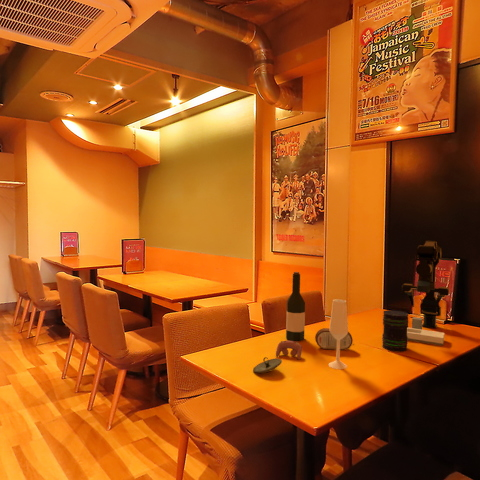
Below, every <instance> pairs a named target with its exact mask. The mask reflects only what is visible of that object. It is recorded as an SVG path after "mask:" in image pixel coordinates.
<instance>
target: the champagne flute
mask: <svg viewBox="0 0 480 480" xmlns="http://www.w3.org/2000/svg"><path fill="white" fill-rule="evenodd" d="M347 310H348V308H347V300H345V299H341V298H340V299H332V304H331V313H330V321H329V322H330V323H329V331H330V333H331V335H332V336H333V337H334V338H335V339H337V350H335V351H336V353H335V354H336V355H335V356H336V358H335V360H334V361H331V362H329V363H328V366H329V368H332V369H335V370H336V369H337V370H344V369H347V368H348V365H347V364H345V363H344V362H343V361H341V360H340V359H341V358H340V357H341V356H340V355H341V350H340V340H341V339H342V338H344V337H345V336H346V335H347V333H348V332H349V326H348V325H349V324H348V323H349V322H348V311H347Z"/></svg>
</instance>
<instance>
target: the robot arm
mask: <svg viewBox="0 0 480 480" xmlns="http://www.w3.org/2000/svg"><path fill="white" fill-rule="evenodd" d="M437 243H438V242H437V241H435V240H426V241H424V244H423V245H421V244H420V245H418V247H416V252H415V253H416V254H415V261H416V262H418V264H417V265H416V267H415V272H416V273H417V274H418V276H417V277H418V278H417V279H418V280H417V282H416V286H415V285H413V283H403V284H402V285H401V292H404V293H405V294H407V297H408V298H409V300H410V304H411V306H412V308H414V307H415V300H414V299H415V298H414V291H417V292H418V293H425V295H424V297H423V298H422V300H421V302H420V305H419V307H420V315H423V321H422V328H429V329H437V327H438V324H437V317H441V312H442V308H441V306H440V302H441V300H442V299H443V298H445V297H447V296H449V295H450V288H449V287H447V286H438V287H436V279H437V278H436V276H437V274H436V272H437V271H436V270H437V266H438V265H439V263H440V262H441V261H440V260H442V247H440V245H438V244H437ZM436 293H437V295H436Z"/></svg>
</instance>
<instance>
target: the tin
mask: <svg viewBox="0 0 480 480" xmlns="http://www.w3.org/2000/svg"><path fill="white" fill-rule="evenodd" d="M329 328H330V327H329ZM329 328H327V327H325V328H320V329H319V330H317V332H316V333H315V337H314V340H315V342H316V345H317V346H318V347H319V348H320V349H323V350H332V351H336V350H337V339H335V338H334V337H333V336H332V335H331V333H330V331H329ZM353 341H354V340H353V336H352V333H350V331H348V333H347V335H346V336H345V337H344V338H342V339H341V340H340V351H346V350H349V349H350V348H351V347H352V345H353Z"/></svg>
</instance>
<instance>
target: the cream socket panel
mask: <svg viewBox="0 0 480 480" xmlns="http://www.w3.org/2000/svg"><path fill="white" fill-rule="evenodd" d="M407 337H408V340H407V341H409V342H414V343H422V344H429V345H435V346H441V347H444V343H445V332H441V331H433V330H426V329H422V330H421V329H414V328H412V327H408V328H407Z"/></svg>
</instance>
